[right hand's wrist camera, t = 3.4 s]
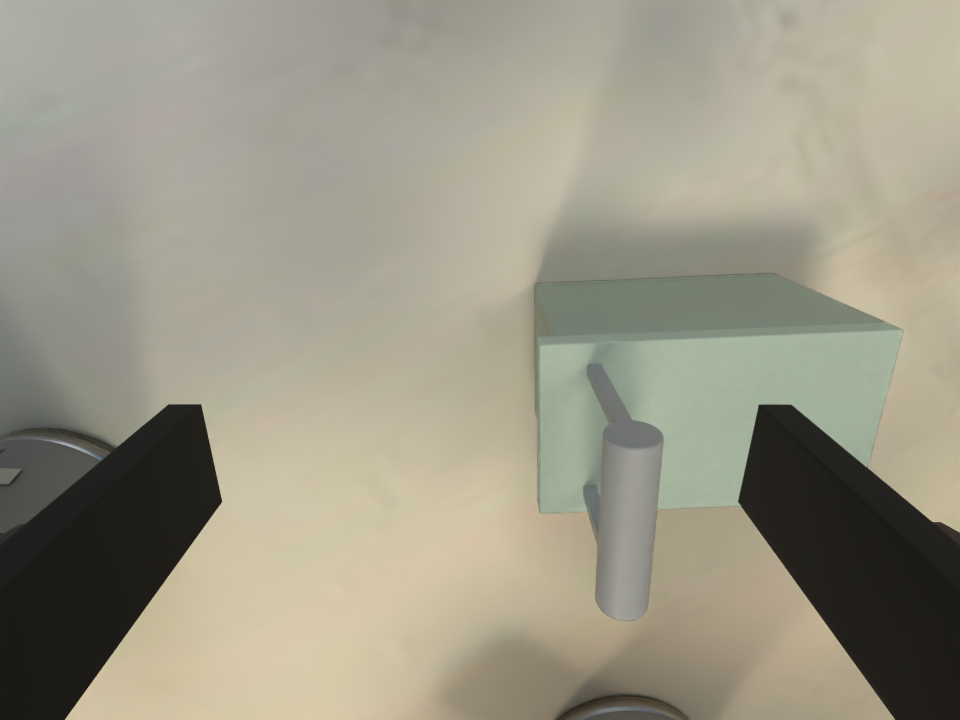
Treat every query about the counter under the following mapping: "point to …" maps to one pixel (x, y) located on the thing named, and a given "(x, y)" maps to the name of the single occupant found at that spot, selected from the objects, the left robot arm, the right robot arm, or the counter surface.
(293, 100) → the counter surface
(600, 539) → the lid
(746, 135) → the counter surface
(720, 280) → the chest
